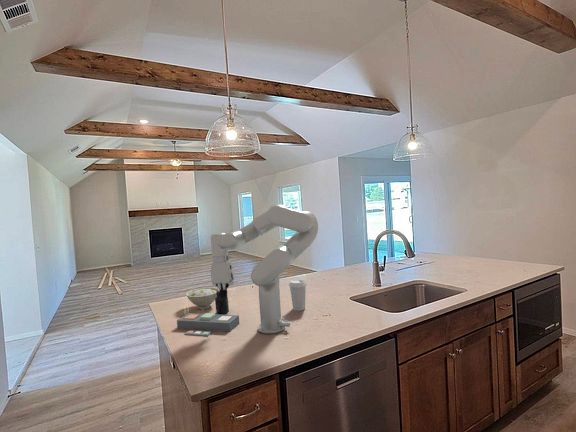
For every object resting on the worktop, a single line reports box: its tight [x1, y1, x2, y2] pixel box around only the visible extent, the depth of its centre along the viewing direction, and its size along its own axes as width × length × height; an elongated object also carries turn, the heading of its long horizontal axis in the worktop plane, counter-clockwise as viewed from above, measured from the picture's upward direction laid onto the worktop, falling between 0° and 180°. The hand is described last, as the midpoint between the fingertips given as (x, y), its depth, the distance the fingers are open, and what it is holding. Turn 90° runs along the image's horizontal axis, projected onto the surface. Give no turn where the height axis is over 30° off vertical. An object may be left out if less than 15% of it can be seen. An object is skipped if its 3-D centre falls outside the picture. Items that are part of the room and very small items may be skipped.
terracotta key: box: [184, 314, 199, 320], centre depth 157 cm, size 5×5×3 cm
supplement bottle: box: [214, 290, 230, 315], centre depth 172 cm, size 7×7×12 cm
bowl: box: [185, 286, 219, 310], centre depth 185 cm, size 19×19×10 cm
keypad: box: [176, 312, 240, 333], centre depth 155 cm, size 28×10×4 cm, turn 74°
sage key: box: [200, 312, 216, 320], centre depth 155 cm, size 5×5×3 cm
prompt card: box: [184, 329, 213, 337], centre depth 146 cm, size 12×4×1 cm, turn 74°
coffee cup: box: [288, 278, 307, 312], centre depth 172 cm, size 10×10×15 cm
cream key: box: [217, 316, 232, 321], centre depth 152 cm, size 5×5×3 cm
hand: (224, 297), depth 152 cm, fingers closed
